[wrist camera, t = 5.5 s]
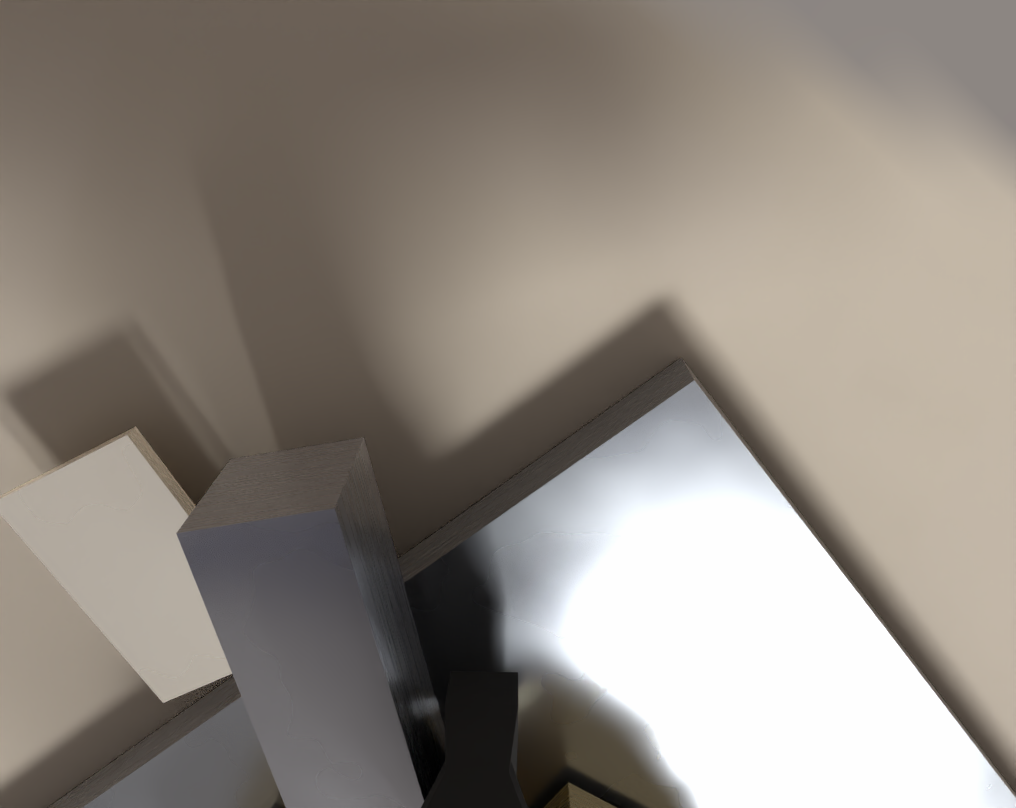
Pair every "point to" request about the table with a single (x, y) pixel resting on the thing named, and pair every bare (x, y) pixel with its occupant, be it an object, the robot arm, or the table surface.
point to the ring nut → (322, 629)
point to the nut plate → (557, 629)
